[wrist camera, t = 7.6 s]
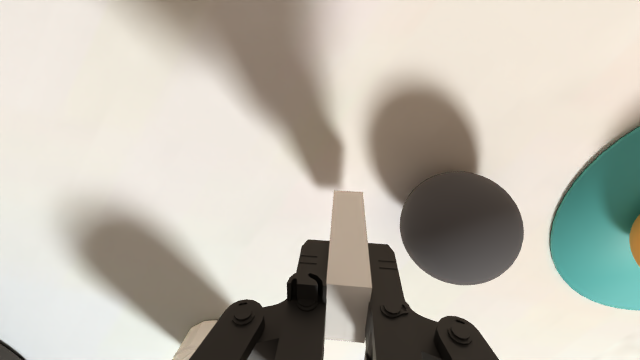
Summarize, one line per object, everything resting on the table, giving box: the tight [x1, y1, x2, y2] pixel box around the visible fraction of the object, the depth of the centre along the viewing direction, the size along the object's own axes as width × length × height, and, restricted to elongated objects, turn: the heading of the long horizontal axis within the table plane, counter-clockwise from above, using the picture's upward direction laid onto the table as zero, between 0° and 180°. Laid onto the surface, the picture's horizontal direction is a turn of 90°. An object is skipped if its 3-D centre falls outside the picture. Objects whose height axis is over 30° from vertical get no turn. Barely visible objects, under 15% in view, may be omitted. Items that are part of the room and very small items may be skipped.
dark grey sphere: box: [400, 172, 524, 285], centre depth 15 cm, size 6×6×6 cm
